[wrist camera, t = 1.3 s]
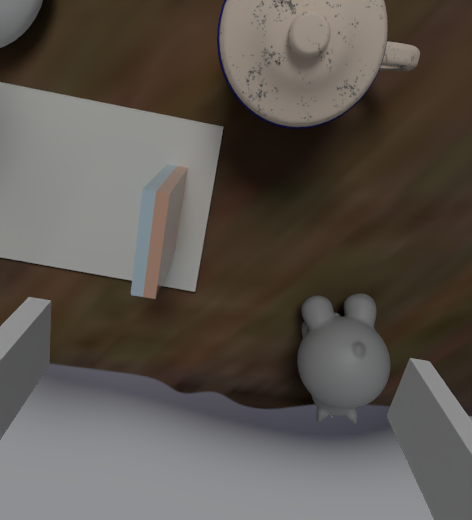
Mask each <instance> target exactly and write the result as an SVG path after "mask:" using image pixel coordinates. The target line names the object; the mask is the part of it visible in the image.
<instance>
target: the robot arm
mask: <svg viewBox="0 0 472 520" xmlns="http://www.w3.org/2000/svg"><path fill="white" fill-rule="evenodd" d="M50 324H51V301H50V300H44V299H38V298H31V297H28V298H27V300H26V301H25V302H24V303H23V304H22V305H21V306H20V307H19V308H18V309H17V310H16V311H15V312H14V313H13V314H12V315H11V316H10V317H9V318H8V319H7V320H6V321H5V322H4V323H3V324H2V325H1V326H0V439H1V438H2V436H3V435H4V433H5V432H6V430H7V429H8V427H9V426H10V424H11V422H12V421H13V420H14V418H15V417H16V415H17V414H18V412H19V410H20V409H21V407H22V406H23V404H24V403H25V401H26V400H27V398H28V397H29V395H30V394H31V392H32V391H33V389H34V388H35V386H36V385H37V383H38V382H39V380H40V379H41V377H42V376H43V374H44V373H45V371H46V370H47V368H48V367H49V358H50ZM387 418H388V420H389V422H390V424H391V427H392V429H393V431H394V433H395V435H396V437H397V439H398V442H399V444H400V446H401V448H402V450H403V453H404V455H405V457H406V459H407V461H408V463H409V466H410V468H411V470H412V472H413V474H414V477H415V479H416V481H417V483H418V485H419V488H420V490H421V492H422V494H423V496H424V498H425V501H426V502H427V505H428V507H429V509H430V512H431V514H432V516H433V518H434V520H472V421H471V419H470V418H469V417H468V415H467V414H466V412H465V411H464V410H463V408H462V407H461V405H460V404H459V402H458V401H457V400H456V398H455V397H454V395H453V394H452V392H451V391H450V390H449V388H448V387H447V385H446V384H445V383H444V381H443V380H442V378H441V377H440V375H439V374H438V373H437V371H436V370H435V368H434V367H433V366H432V364H431V363H430V361H424V360H418V359H412V358H410V359H409V362H408V364H407V367H406V369H405V372H404V374H403V377H402V379H401V382H400V384H399V387H398V389H397V391H396V394H395V396H394V399H393V401H392V404H391V406H390V409H389V411H388V414H387Z"/></svg>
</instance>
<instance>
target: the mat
mask: <svg viewBox="0 0 472 520" xmlns="http://www.w3.org/2000/svg"><path fill="white" fill-rule="evenodd" d="M223 128H224V127H223V126H218V125H213V124H208V123H203V122H198V121H193V120H188V119H183V118H178V117H173V116H168V115H163V114H158V113H153V112H148V111H143V110H138V109H133V108H128V107H123V106H118V105H113V104H108V103H103V102H98V101H93V100H88V99H83V98H78V97H73V96H68V95H63V94H58V93H53V92H48V91H43V90H38V89H33V88H28V87H23V86H18V85H13V84H8V83H3V82H0V257H1V258H7V259H13V260H18V261H24V262H29V263H35V264H41V265H46V266H52V267H58V268H63V269H69V270H75V271H80V272H86V273H92V274H97V275H103V276H109V277H114V278H120V279H126V280H131V281H132V279H133V270H134V261H135V252H136V243H137V234H138V225H139V216H140V207H141V198H142V189H143V188H144V187H145V186H146V185H147V184H148V183H149V182H150V181H151V180H152V179H153V178H154V177H155V176H156V175H157V174H158V173H159V172H160V171H161V170H162V169H163V168H164V167H165V166H166V165H167V164H171V165H176V166H182V167H187V168H188V169H187V176H186V182H185V189H184V196H183V203H182V209H181V216H180V223H179V230H178V236H177V243H176V250H175V253H174V255H173V258H172V260H171V262H170V265H169V267H168V270H167V272H166V275H165V277H164V279H163V282H162V284H161V286H165V287H171V288H176V289H182V290H188V291H193V292H195V290H196V284H197V278H198V272H199V267H200V261H201V255H202V249H203V243H204V238H205V232H206V226H207V220H208V214H209V209H210V203H211V197H212V191H213V185H214V180H215V174H216V168H217V162H218V157H219V151H220V145H221V139H222V133H223Z"/></svg>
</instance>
